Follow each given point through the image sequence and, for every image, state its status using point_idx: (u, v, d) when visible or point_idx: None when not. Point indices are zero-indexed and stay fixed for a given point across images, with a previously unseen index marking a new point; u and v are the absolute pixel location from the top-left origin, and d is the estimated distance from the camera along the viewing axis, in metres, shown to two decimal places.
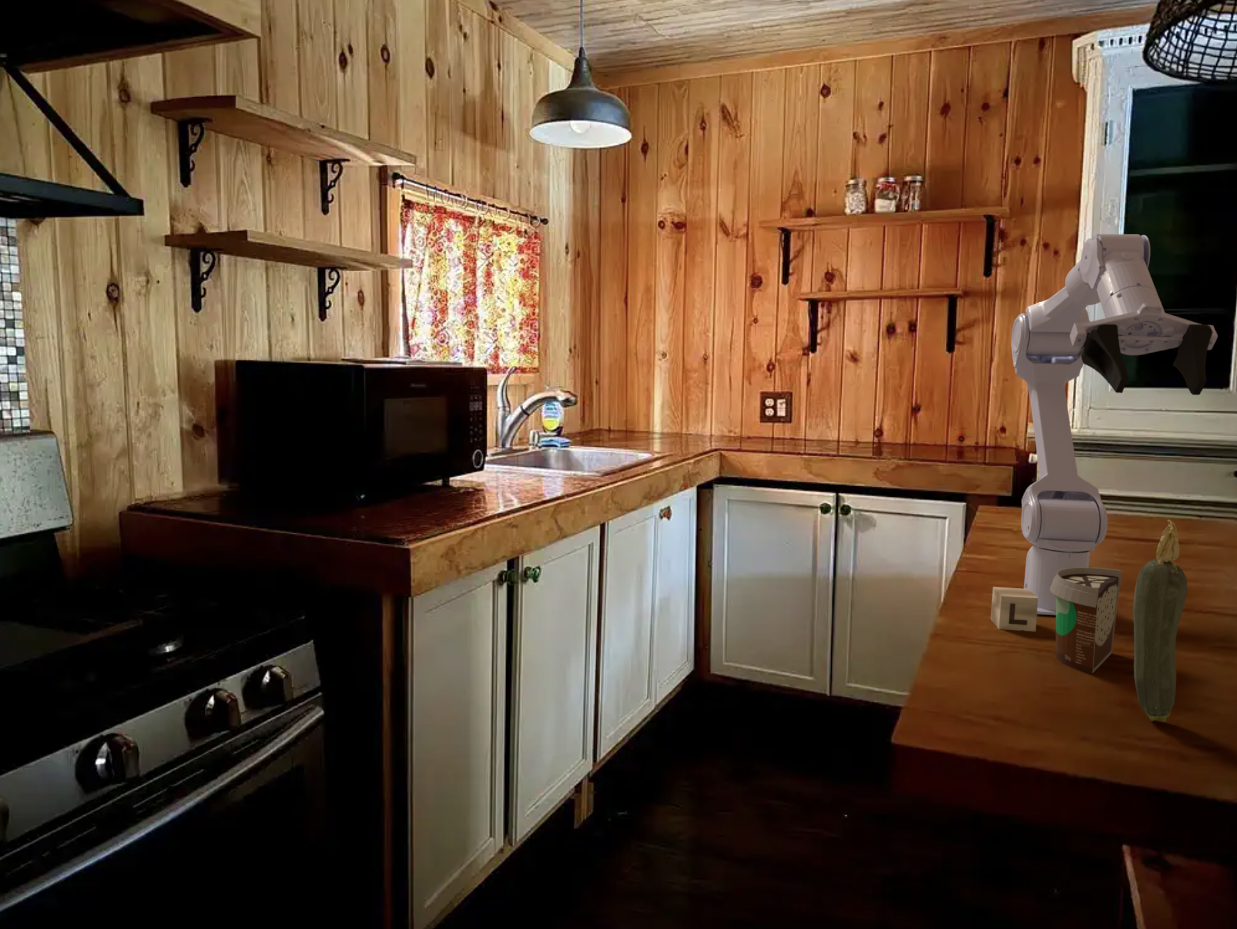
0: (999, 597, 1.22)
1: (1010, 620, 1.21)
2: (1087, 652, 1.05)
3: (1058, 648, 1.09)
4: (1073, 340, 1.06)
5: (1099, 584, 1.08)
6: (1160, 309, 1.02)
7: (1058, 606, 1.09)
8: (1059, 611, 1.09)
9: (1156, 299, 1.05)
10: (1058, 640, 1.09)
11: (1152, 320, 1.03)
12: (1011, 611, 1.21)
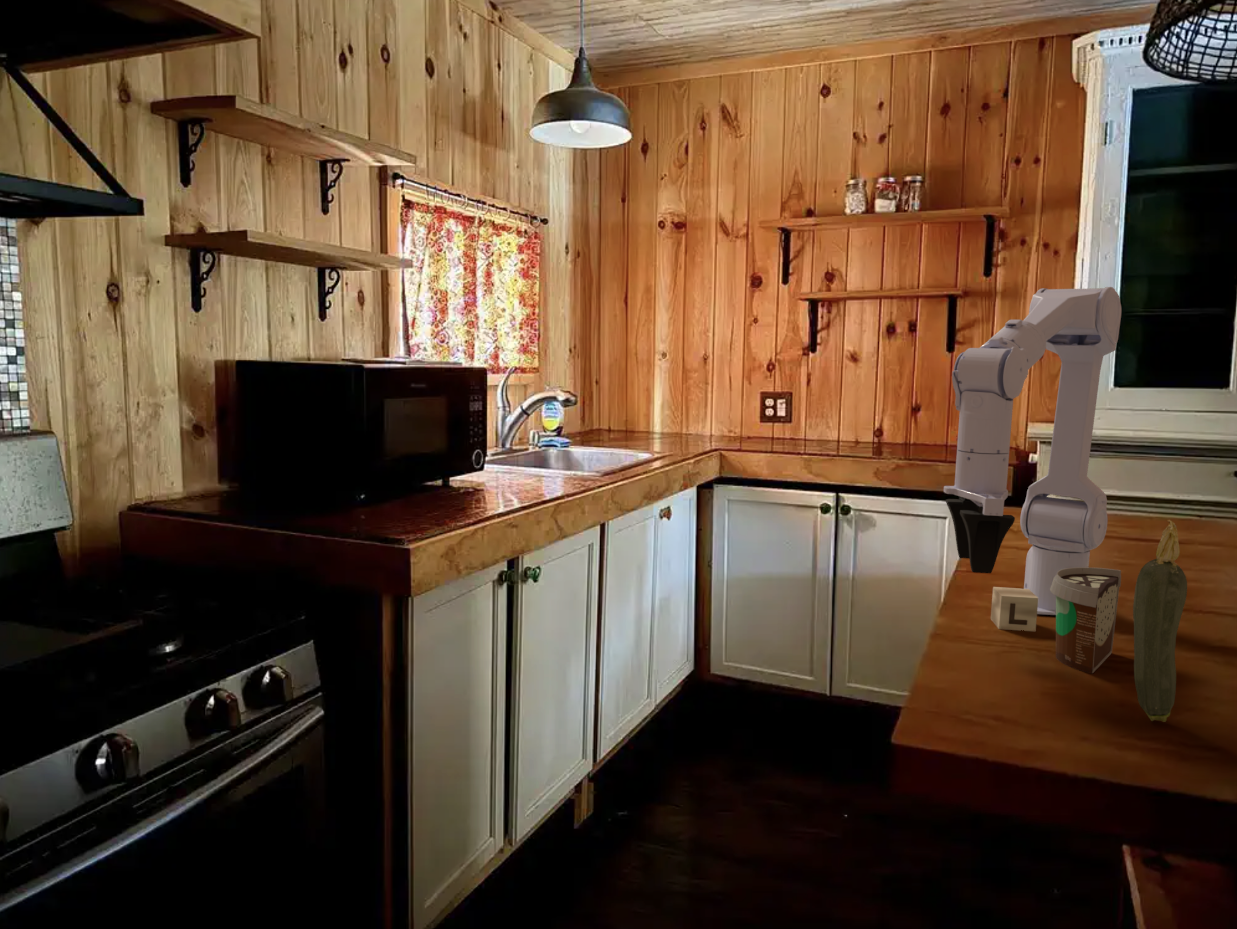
0: (999, 597, 1.22)
1: (1010, 620, 1.21)
2: (1087, 652, 1.05)
3: (1058, 648, 1.09)
4: None
5: (1099, 584, 1.08)
6: (949, 493, 1.10)
7: (1058, 606, 1.09)
8: (1059, 611, 1.09)
9: (963, 467, 1.09)
10: (1058, 640, 1.09)
11: None
12: (1011, 611, 1.21)
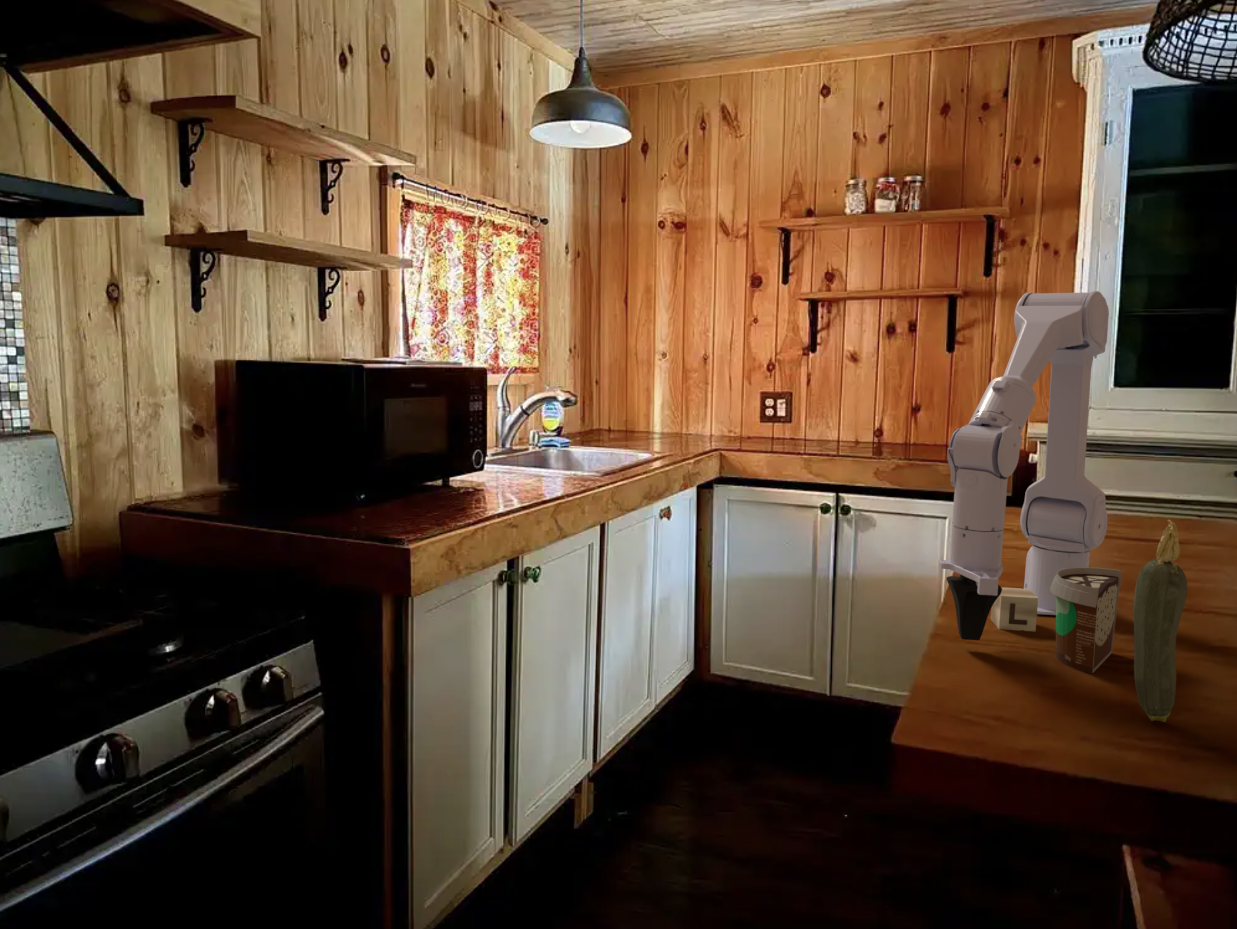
0: (999, 597, 1.22)
1: (1010, 620, 1.21)
2: (1087, 652, 1.05)
3: (1058, 648, 1.09)
4: None
5: (1099, 584, 1.08)
6: (944, 568, 1.11)
7: (1058, 606, 1.09)
8: (1059, 611, 1.09)
9: (958, 543, 1.10)
10: (1058, 640, 1.09)
11: None
12: (1011, 611, 1.21)
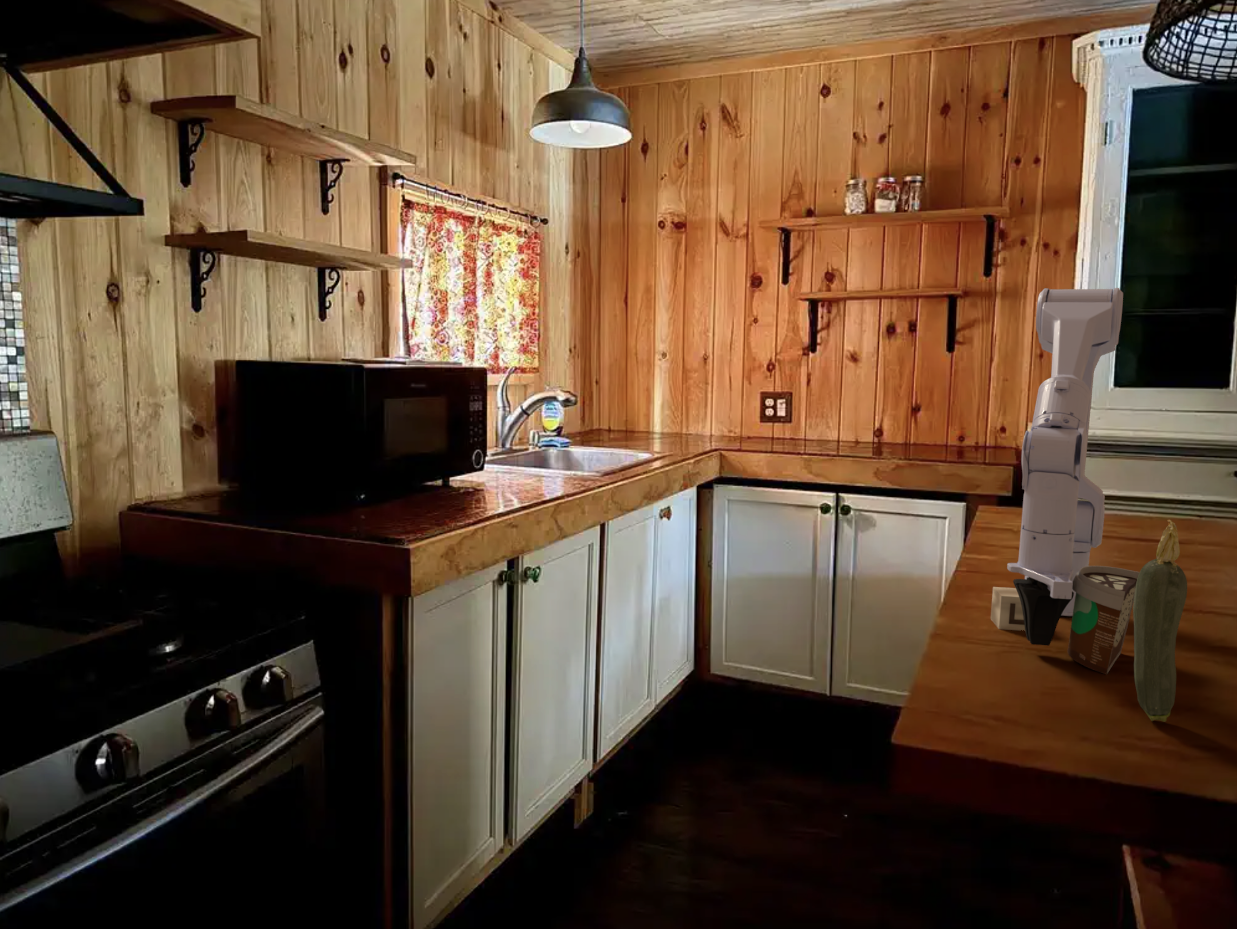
0: (999, 597, 1.22)
1: (1010, 620, 1.21)
2: (1104, 653, 1.05)
3: (1072, 645, 1.09)
4: None
5: (1122, 586, 1.07)
6: (1014, 571, 1.10)
7: (1078, 604, 1.08)
8: (1079, 609, 1.08)
9: (1028, 546, 1.09)
10: (1073, 638, 1.09)
11: None
12: (1011, 611, 1.21)
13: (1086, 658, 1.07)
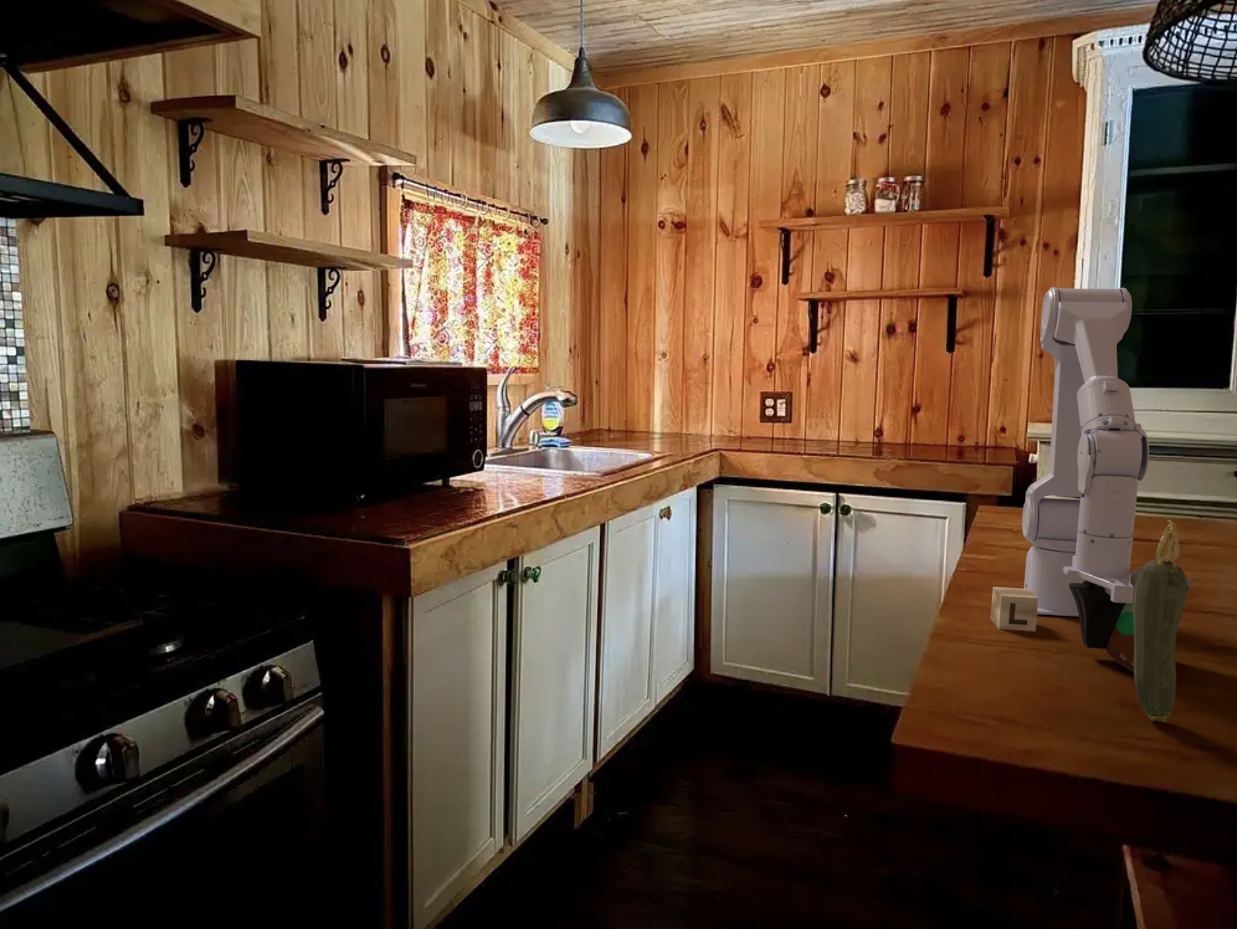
0: (999, 597, 1.22)
1: (1010, 620, 1.21)
2: None
3: (1113, 644, 1.07)
4: None
5: None
6: (1070, 575, 1.09)
7: (1129, 605, 1.06)
8: (1128, 610, 1.06)
9: (1086, 549, 1.08)
10: (1116, 637, 1.07)
11: None
12: (1011, 611, 1.21)
13: (1127, 659, 1.05)
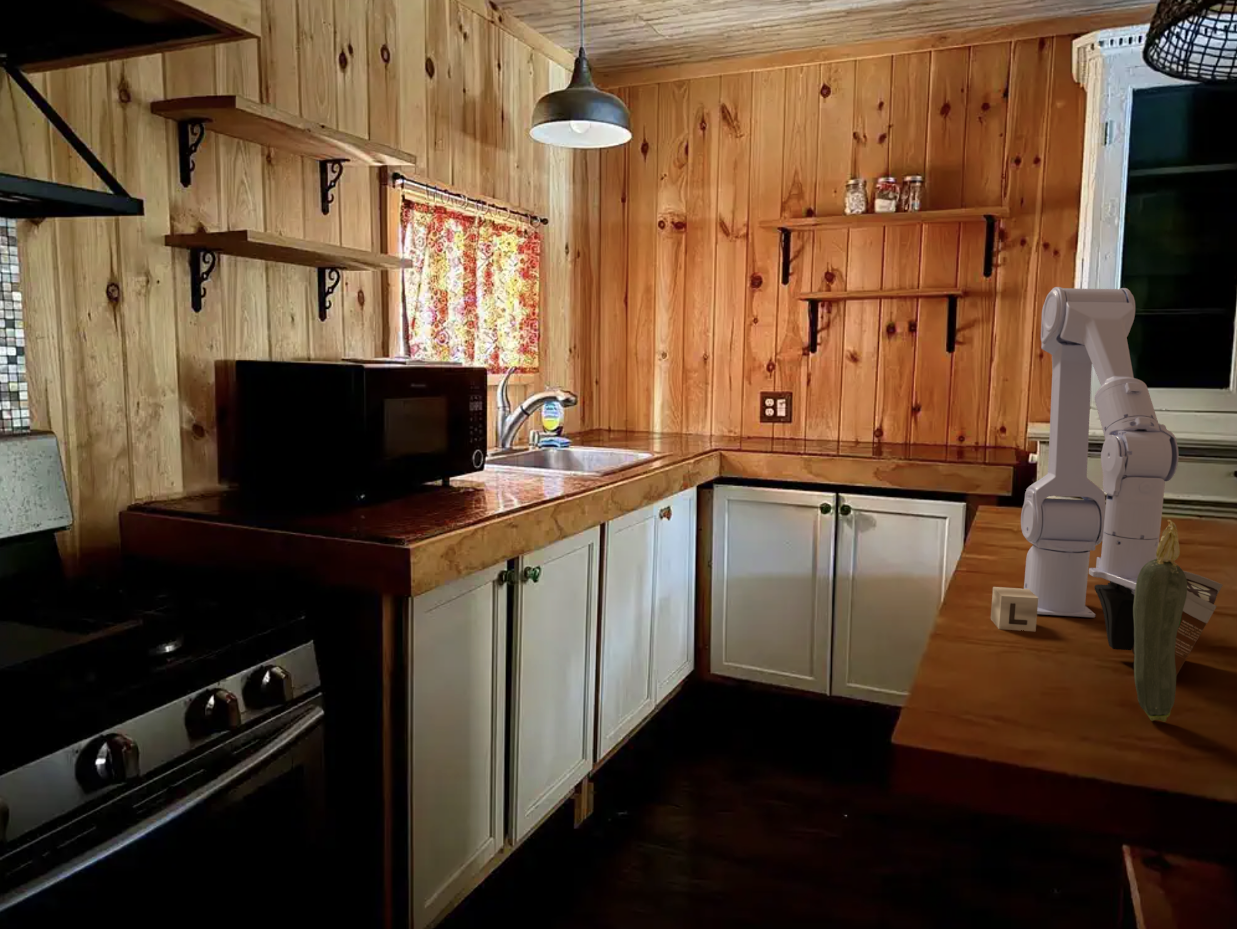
0: (999, 597, 1.22)
1: (1010, 620, 1.21)
2: (1176, 661, 1.03)
3: None
4: None
5: (1208, 597, 1.04)
6: (1096, 576, 1.09)
7: None
8: None
9: (1112, 551, 1.07)
10: None
11: None
12: (1011, 611, 1.21)
13: None
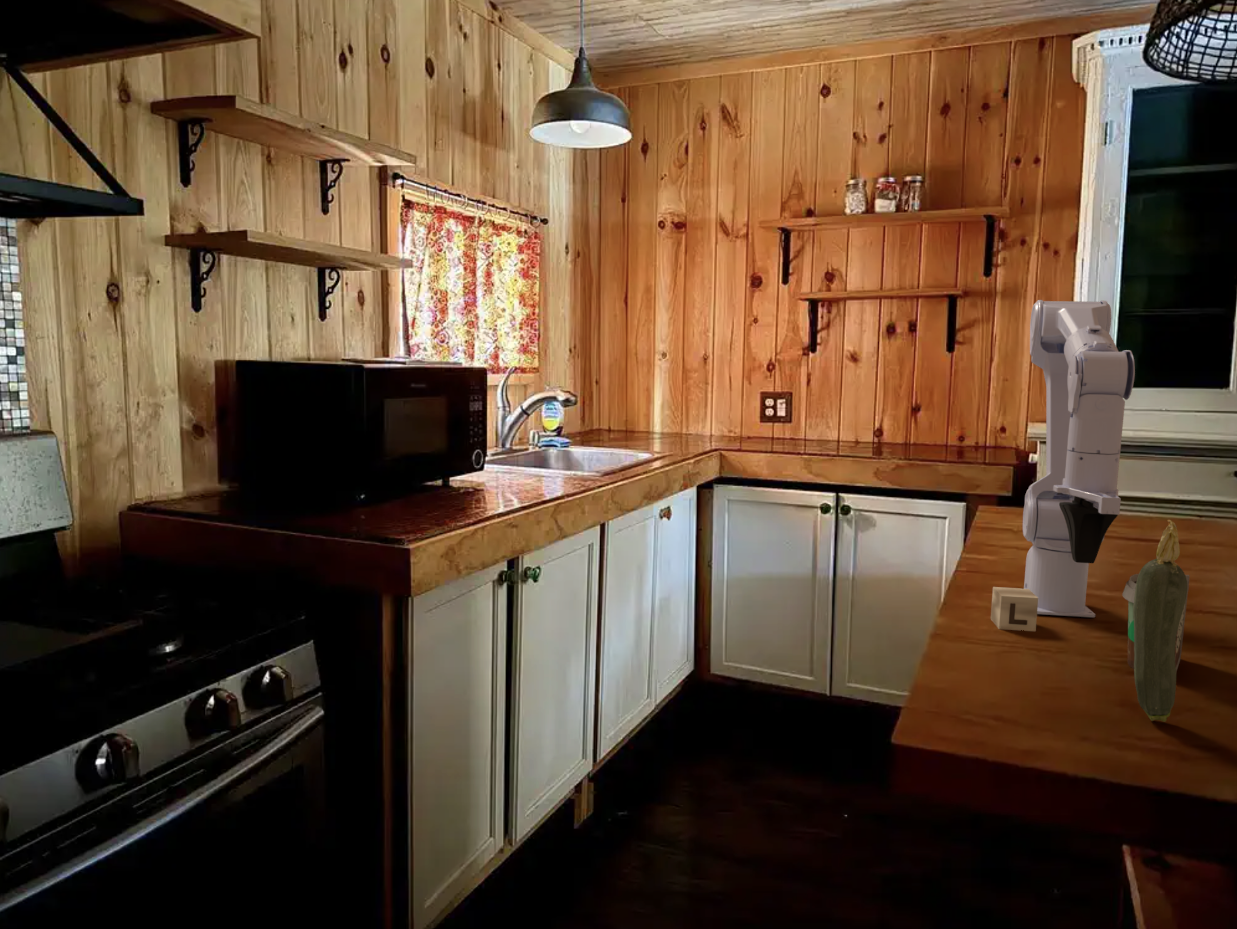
0: (999, 597, 1.22)
1: (1010, 620, 1.21)
2: None
3: (1133, 656, 1.07)
4: None
5: None
6: (1060, 492, 1.13)
7: None
8: None
9: (1075, 467, 1.12)
10: (1133, 648, 1.07)
11: None
12: (1011, 611, 1.21)
13: None
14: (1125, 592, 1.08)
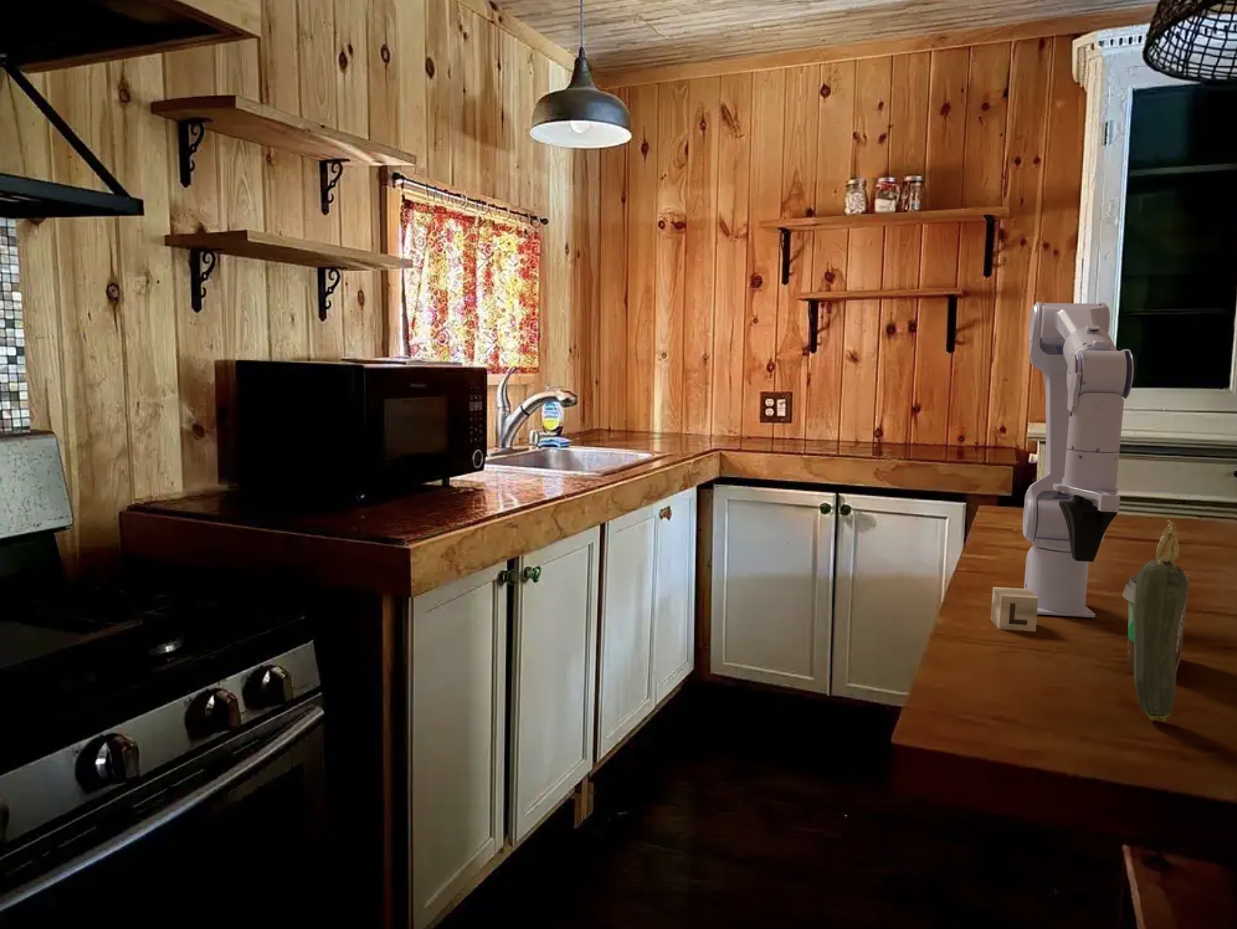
0: (999, 597, 1.22)
1: (1010, 620, 1.21)
2: None
3: (1133, 656, 1.07)
4: None
5: None
6: (1060, 491, 1.14)
7: None
8: None
9: (1074, 465, 1.12)
10: (1133, 648, 1.07)
11: None
12: (1011, 611, 1.21)
13: None
14: (1125, 592, 1.08)
